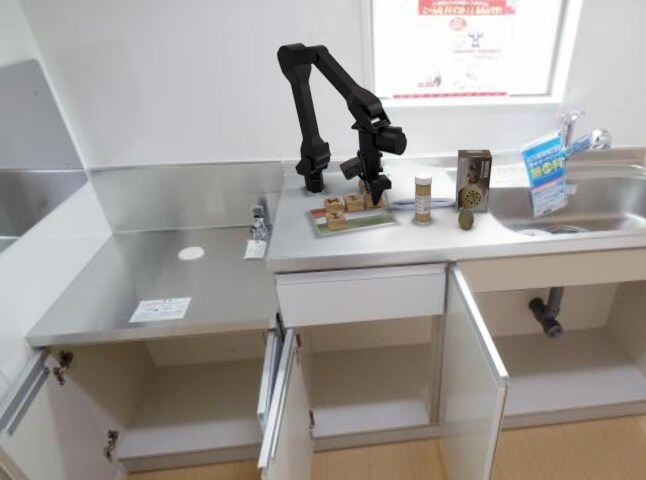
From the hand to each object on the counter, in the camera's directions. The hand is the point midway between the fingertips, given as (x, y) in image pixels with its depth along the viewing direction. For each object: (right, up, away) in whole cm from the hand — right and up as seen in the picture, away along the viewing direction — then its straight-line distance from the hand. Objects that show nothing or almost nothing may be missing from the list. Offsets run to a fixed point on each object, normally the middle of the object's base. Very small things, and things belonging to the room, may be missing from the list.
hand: (372, 202), depth 130 cm
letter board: (-5, -6, -5) cm, 9 cm away
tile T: (0, 0, 0) cm, 0 cm away
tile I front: (-9, -9, -10) cm, 16 cm away
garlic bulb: (-2, +6, +10) cm, 12 cm away
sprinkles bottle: (+15, -7, -5) cm, 17 cm away
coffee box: (+29, -1, +2) cm, 29 cm away
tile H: (-11, -3, -3) cm, 12 cm away
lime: (+26, -9, -7) cm, 29 cm away
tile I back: (-5, -2, -1) cm, 6 cm away
